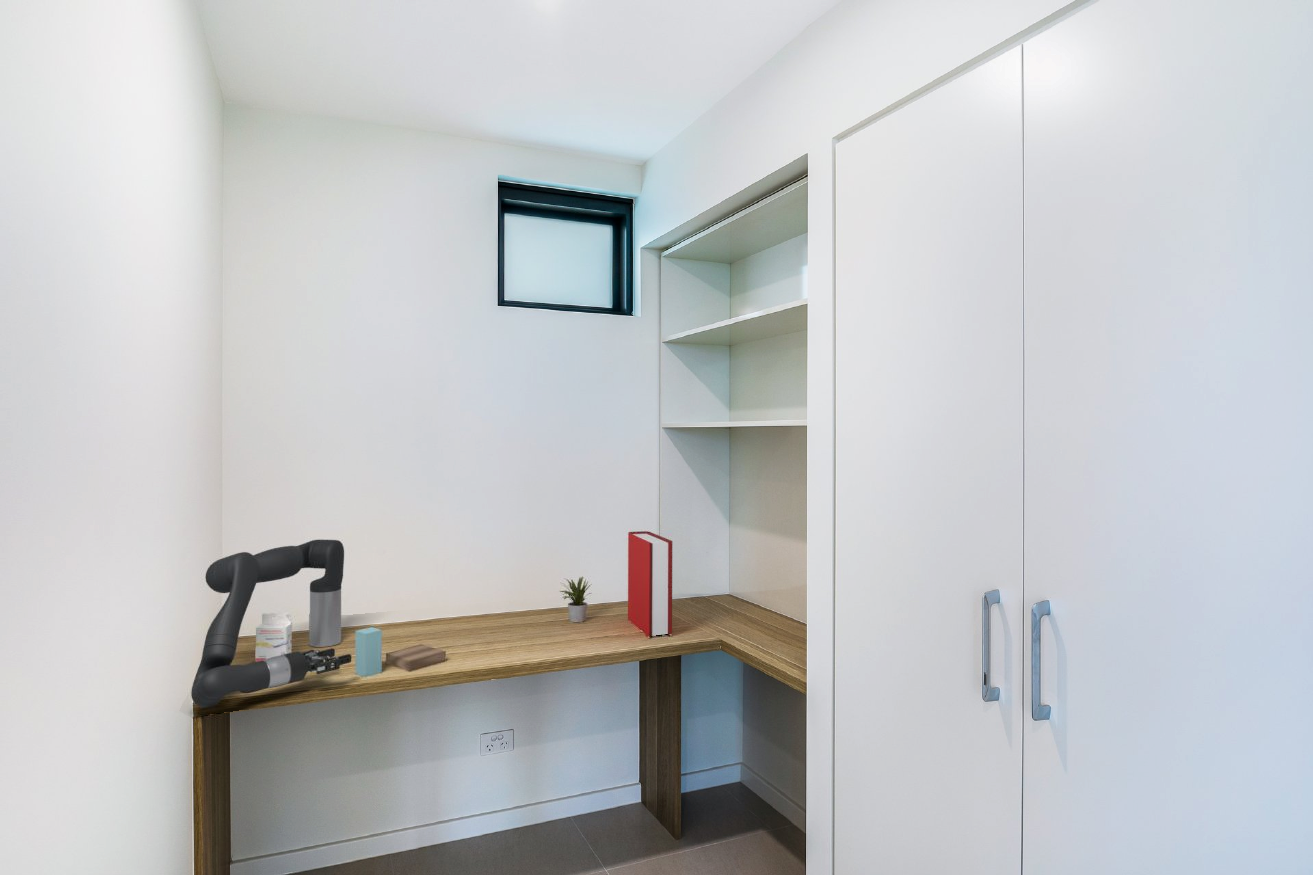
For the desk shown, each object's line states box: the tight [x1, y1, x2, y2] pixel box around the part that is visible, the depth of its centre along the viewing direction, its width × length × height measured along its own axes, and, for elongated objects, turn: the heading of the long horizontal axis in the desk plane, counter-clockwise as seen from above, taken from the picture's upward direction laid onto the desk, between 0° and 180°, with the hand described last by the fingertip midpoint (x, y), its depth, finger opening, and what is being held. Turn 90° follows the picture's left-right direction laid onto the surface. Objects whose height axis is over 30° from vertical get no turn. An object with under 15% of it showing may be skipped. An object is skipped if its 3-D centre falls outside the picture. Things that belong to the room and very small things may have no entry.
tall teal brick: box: [354, 626, 383, 678], centre depth 207 cm, size 5×5×12 cm
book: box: [627, 530, 673, 638], centre depth 258 cm, size 27×8×32 cm, turn 18°
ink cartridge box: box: [254, 612, 293, 662], centre depth 214 cm, size 9×5×15 cm, turn 99°
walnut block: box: [385, 643, 447, 672], centre depth 217 cm, size 12×12×3 cm
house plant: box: [559, 576, 591, 623], centre depth 268 cm, size 14×14×16 cm
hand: (342, 654), depth 201 cm, fingers open, 8 cm apart
